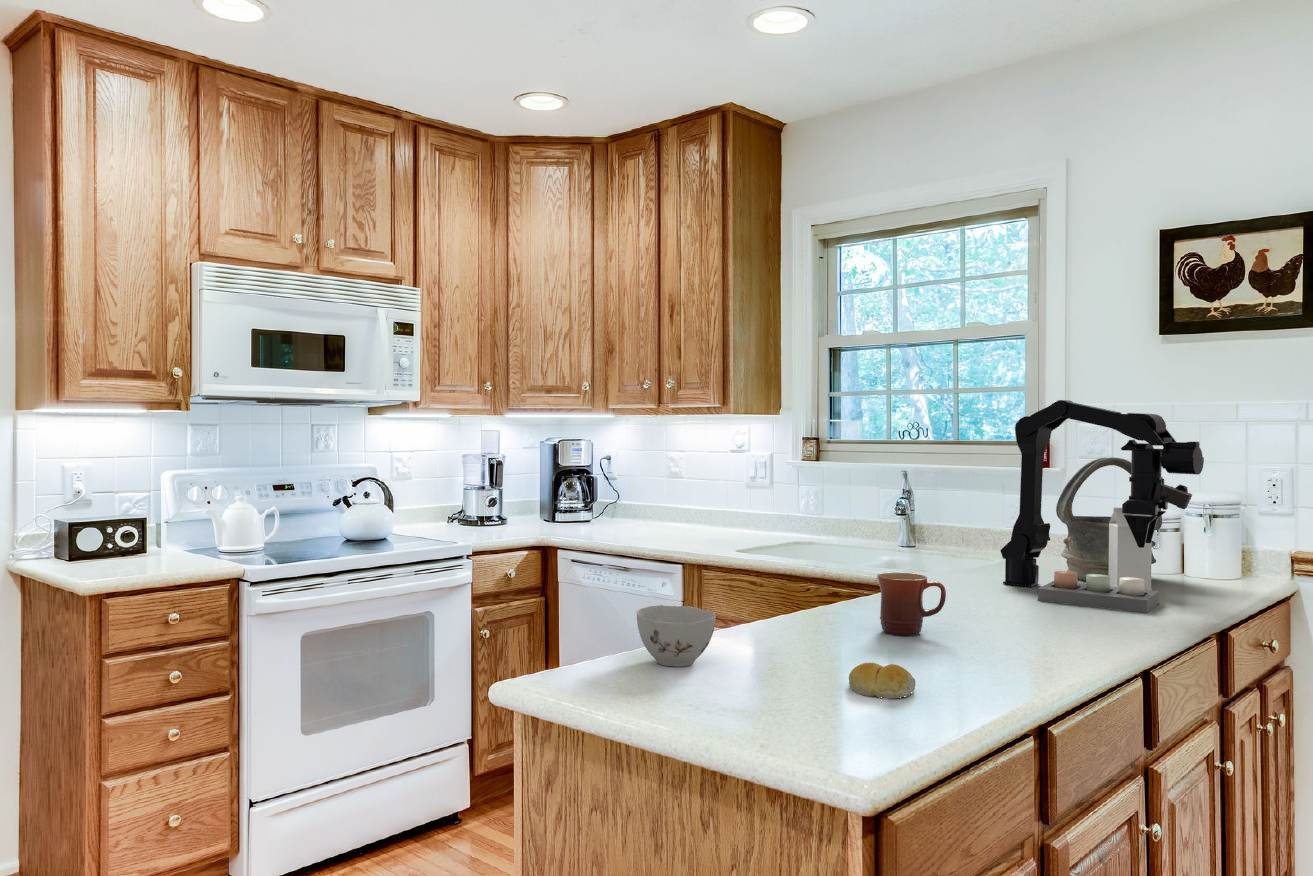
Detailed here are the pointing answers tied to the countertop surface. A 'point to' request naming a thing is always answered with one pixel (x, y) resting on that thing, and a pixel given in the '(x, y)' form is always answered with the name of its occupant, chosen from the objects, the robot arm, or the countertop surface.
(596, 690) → the countertop surface
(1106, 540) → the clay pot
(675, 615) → the teacup
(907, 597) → the mug
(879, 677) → the bread roll
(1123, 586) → the cream button
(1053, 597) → the panel
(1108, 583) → the sage button
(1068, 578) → the terracotta button
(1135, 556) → the milk carton
